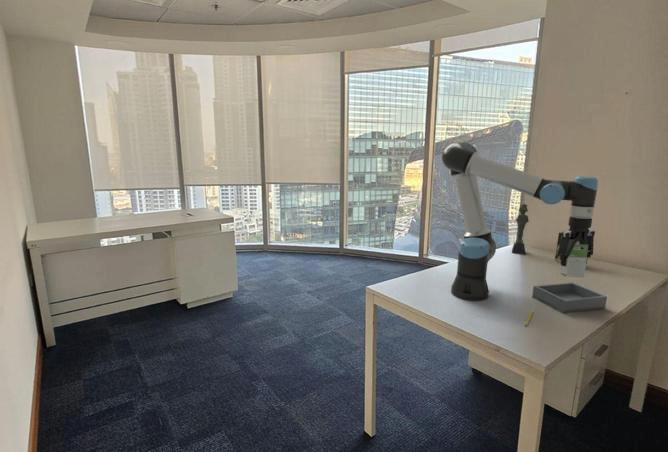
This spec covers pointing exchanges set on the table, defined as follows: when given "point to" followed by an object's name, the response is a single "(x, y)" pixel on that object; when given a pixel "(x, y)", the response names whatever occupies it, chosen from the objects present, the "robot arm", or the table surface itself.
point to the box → (569, 297)
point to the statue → (520, 230)
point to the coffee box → (558, 258)
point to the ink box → (577, 261)
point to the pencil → (529, 318)
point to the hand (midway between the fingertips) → (572, 272)
